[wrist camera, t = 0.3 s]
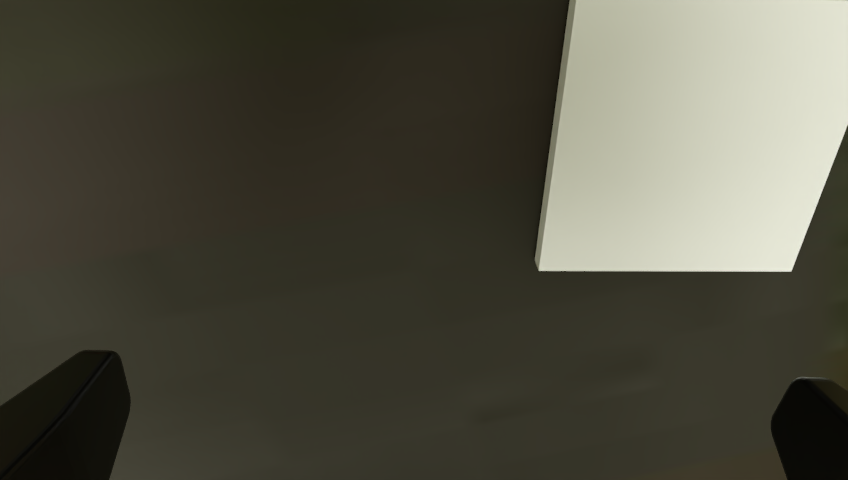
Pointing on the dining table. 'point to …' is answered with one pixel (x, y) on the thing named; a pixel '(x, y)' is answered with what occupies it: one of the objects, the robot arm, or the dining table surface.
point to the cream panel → (692, 133)
